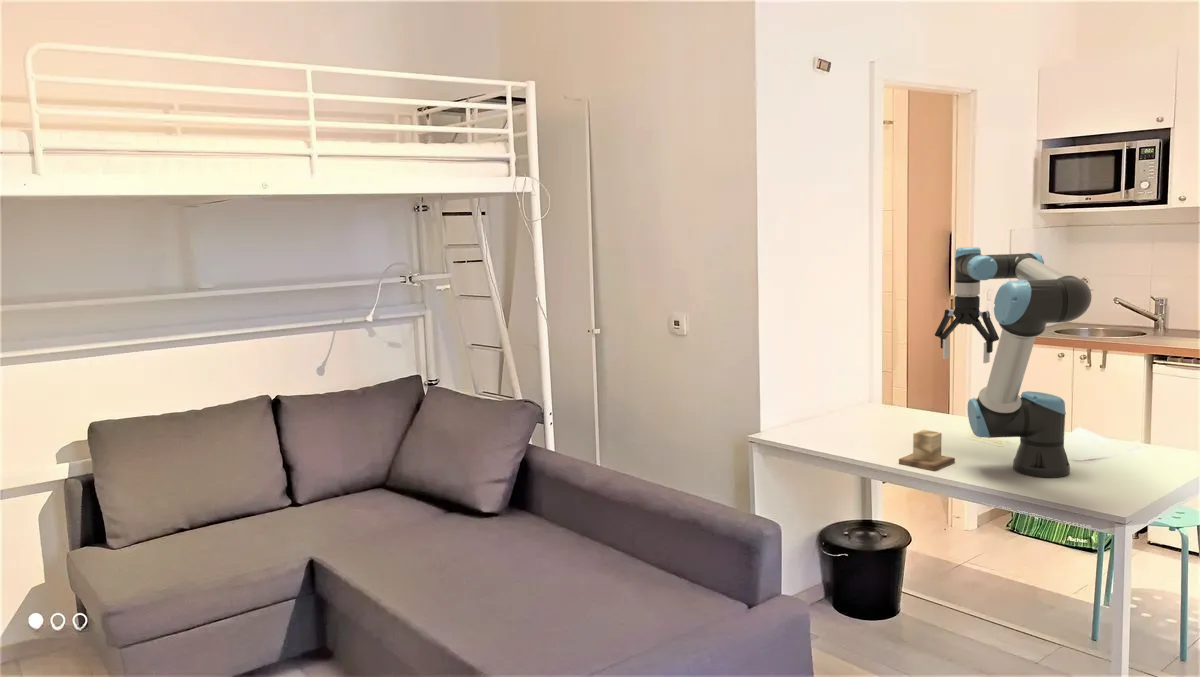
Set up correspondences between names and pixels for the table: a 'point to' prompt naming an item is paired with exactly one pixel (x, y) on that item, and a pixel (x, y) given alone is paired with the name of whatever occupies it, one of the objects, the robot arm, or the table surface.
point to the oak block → (927, 445)
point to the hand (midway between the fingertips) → (965, 360)
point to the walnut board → (927, 465)
